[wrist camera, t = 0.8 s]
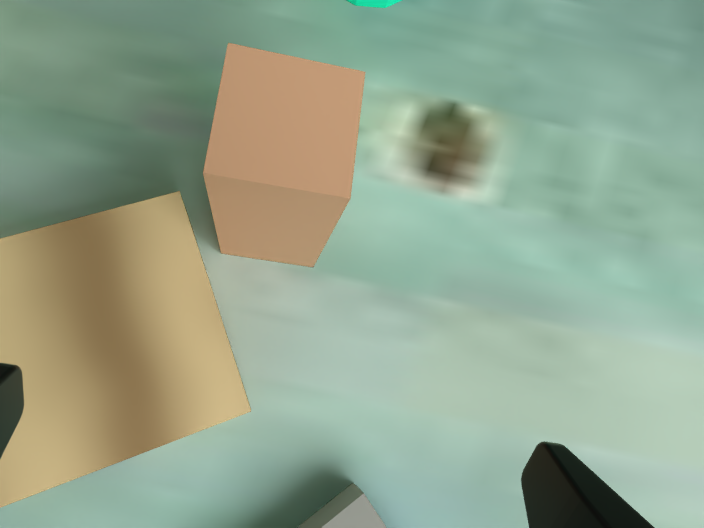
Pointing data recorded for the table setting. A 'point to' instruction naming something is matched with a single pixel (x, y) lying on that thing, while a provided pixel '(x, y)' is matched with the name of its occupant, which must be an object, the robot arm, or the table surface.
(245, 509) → the table surface
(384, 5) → the candle
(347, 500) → the slate block
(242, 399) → the oak block
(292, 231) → the terracotta block
